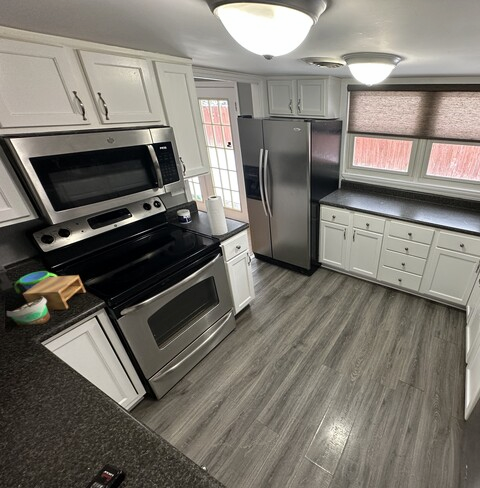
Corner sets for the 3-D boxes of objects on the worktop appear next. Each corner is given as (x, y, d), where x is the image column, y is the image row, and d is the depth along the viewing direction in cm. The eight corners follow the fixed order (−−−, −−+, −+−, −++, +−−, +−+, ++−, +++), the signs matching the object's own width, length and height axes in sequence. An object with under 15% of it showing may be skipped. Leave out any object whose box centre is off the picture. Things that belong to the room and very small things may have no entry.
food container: (24, 334, 109) (13, 315, 105) (16, 330, 111) (4, 311, 107) (60, 316, 120) (51, 298, 116) (52, 312, 122) (42, 295, 118)
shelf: (32, 311, 122) (22, 293, 118) (54, 293, 135) (46, 277, 130) (66, 308, 124) (58, 291, 120) (85, 291, 137) (78, 275, 133)
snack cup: (17, 303, 127) (6, 285, 123) (25, 291, 135) (16, 275, 131) (60, 294, 134) (51, 277, 130) (65, 284, 142) (58, 267, 138)
